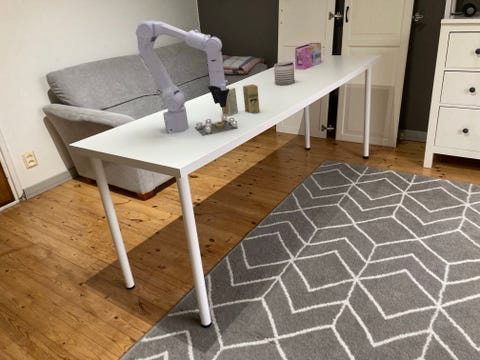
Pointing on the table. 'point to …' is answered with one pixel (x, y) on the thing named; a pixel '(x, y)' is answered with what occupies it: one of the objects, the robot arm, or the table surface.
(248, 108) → the shoe polish box
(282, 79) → the can
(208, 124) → the spacers
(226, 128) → the mat
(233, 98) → the skincare box
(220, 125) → the nut
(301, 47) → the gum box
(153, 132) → the table surface
